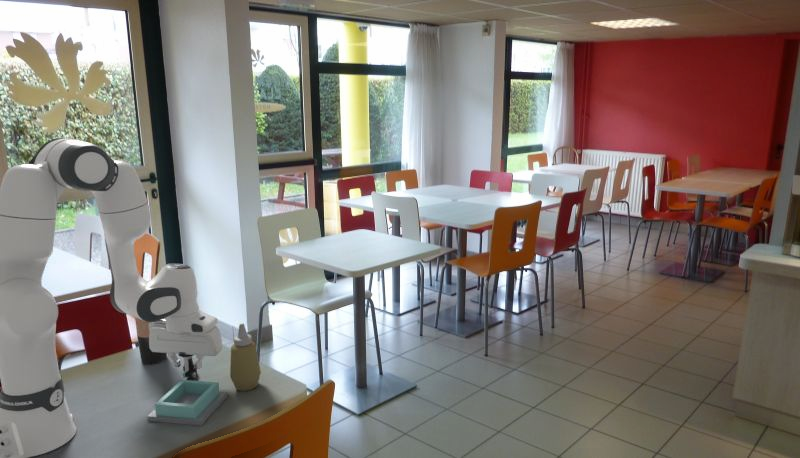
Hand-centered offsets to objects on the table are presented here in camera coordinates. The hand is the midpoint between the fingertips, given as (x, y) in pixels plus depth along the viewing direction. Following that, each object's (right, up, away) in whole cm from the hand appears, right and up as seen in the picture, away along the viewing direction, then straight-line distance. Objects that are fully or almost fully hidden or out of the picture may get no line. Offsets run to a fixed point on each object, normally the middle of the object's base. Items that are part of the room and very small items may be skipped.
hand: (187, 367), depth 160 cm
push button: (0, -4, +1) cm, 4 cm away
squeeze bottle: (+17, -5, -3) cm, 18 cm away
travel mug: (-15, -1, +13) cm, 20 cm away
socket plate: (+5, -7, -14) cm, 17 cm away
